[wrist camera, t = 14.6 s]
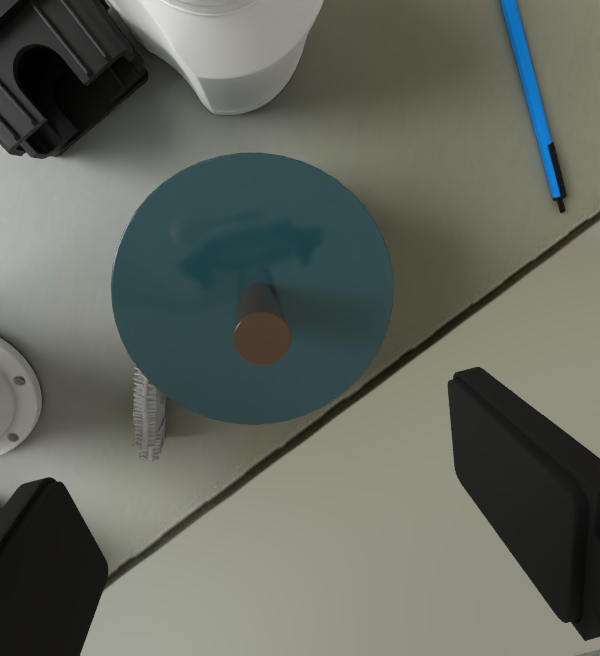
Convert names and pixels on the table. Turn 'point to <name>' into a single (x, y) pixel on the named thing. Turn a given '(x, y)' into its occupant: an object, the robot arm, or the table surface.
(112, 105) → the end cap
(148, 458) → the grey finned heatsink
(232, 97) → the jar
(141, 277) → the lid
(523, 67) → the pen
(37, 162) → the table surface
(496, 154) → the table surface
